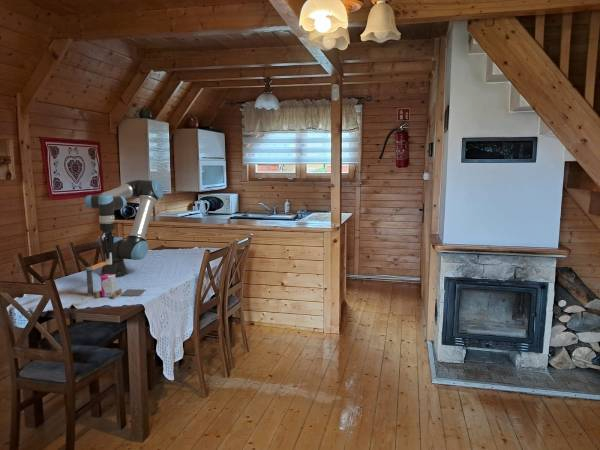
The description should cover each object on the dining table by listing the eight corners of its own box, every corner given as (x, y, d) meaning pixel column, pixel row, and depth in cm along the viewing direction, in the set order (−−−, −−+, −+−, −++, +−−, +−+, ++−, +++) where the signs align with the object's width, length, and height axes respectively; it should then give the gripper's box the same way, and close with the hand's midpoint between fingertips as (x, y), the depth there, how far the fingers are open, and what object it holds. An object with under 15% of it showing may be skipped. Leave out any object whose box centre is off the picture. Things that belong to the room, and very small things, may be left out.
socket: (93, 292, 246) (91, 268, 244) (121, 293, 246) (120, 269, 244) (84, 298, 237) (82, 273, 234) (114, 299, 236) (112, 274, 234)
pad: (127, 290, 251) (127, 289, 251) (145, 290, 251) (145, 289, 251) (120, 296, 241) (120, 295, 241) (138, 296, 241) (138, 295, 241)
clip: (84, 271, 238) (84, 267, 238) (104, 263, 254) (104, 260, 254) (89, 271, 237) (89, 268, 237) (109, 263, 253) (109, 260, 253)
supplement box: (116, 294, 244) (115, 273, 242) (112, 297, 239) (111, 277, 237) (105, 294, 244) (104, 273, 242) (101, 297, 238) (100, 276, 236)
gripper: (108, 224, 241) (110, 267, 245) (118, 220, 254) (120, 261, 258) (94, 224, 241) (97, 267, 245) (105, 220, 254) (107, 261, 258)
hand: (109, 264), depth 252 cm, fingers closed
